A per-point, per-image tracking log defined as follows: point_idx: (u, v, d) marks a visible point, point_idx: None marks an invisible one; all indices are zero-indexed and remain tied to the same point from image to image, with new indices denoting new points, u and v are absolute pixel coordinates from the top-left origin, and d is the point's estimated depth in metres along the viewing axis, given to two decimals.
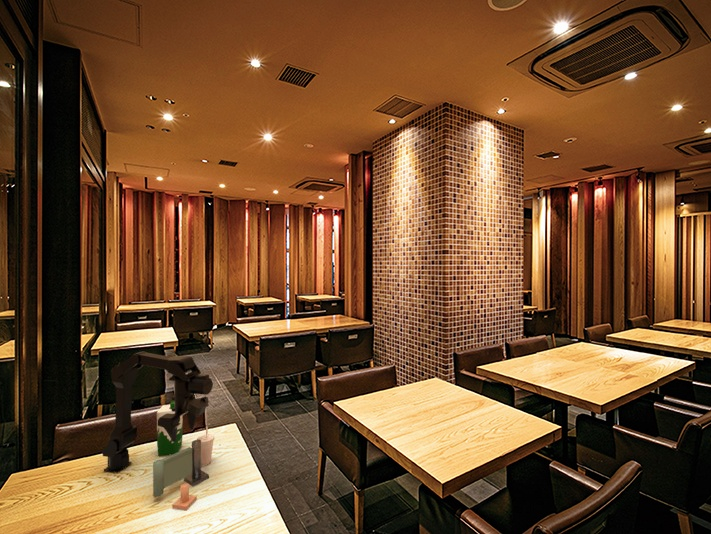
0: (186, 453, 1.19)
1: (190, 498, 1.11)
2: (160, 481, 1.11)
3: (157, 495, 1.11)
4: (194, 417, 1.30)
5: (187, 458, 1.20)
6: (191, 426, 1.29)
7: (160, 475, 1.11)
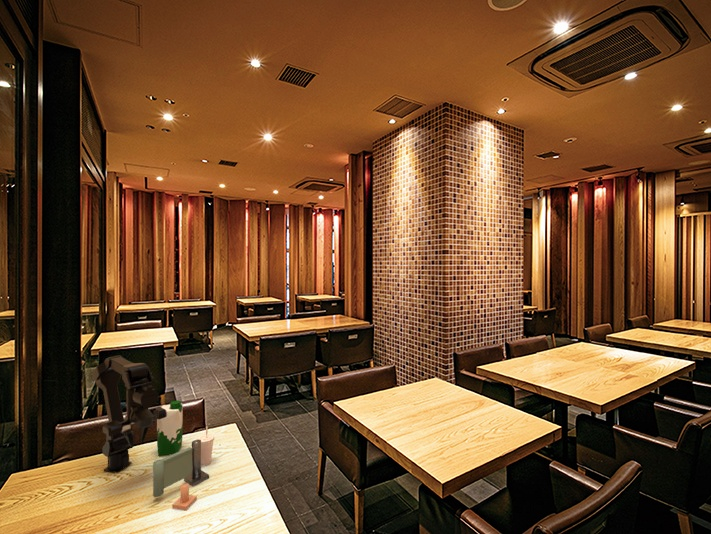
0: (186, 453, 1.19)
1: (190, 498, 1.11)
2: (160, 481, 1.11)
3: (157, 495, 1.11)
4: (143, 430, 1.23)
5: (187, 458, 1.20)
6: (141, 439, 1.23)
7: (160, 475, 1.11)
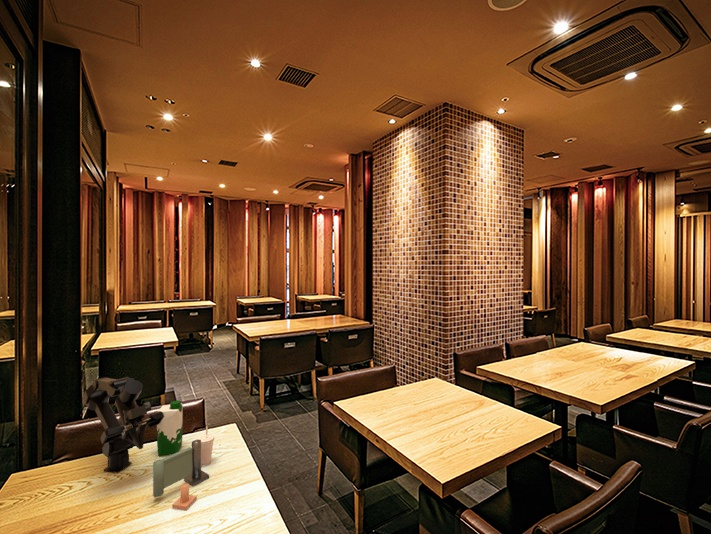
0: (186, 453, 1.19)
1: (190, 498, 1.11)
2: (160, 481, 1.11)
3: (157, 495, 1.11)
4: (139, 434, 1.21)
5: (187, 458, 1.20)
6: None
7: (160, 475, 1.11)
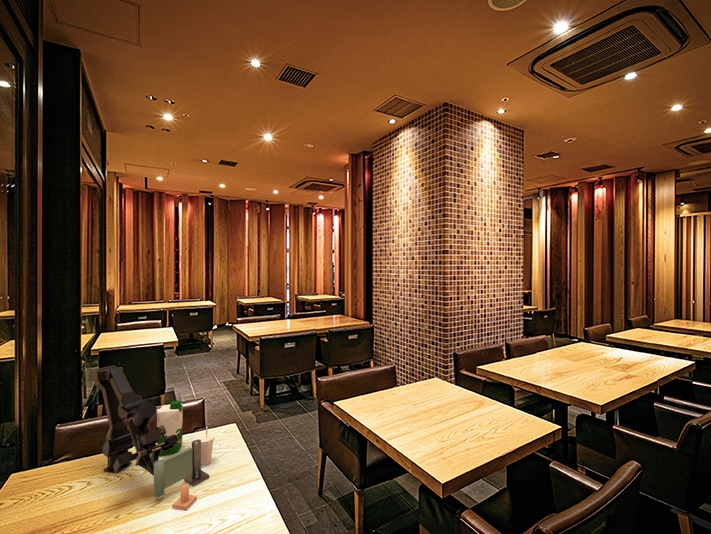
0: (186, 453, 1.19)
1: (190, 498, 1.11)
2: (160, 482, 1.11)
3: (158, 495, 1.11)
4: (154, 460, 1.15)
5: (187, 458, 1.19)
6: None
7: (161, 475, 1.11)
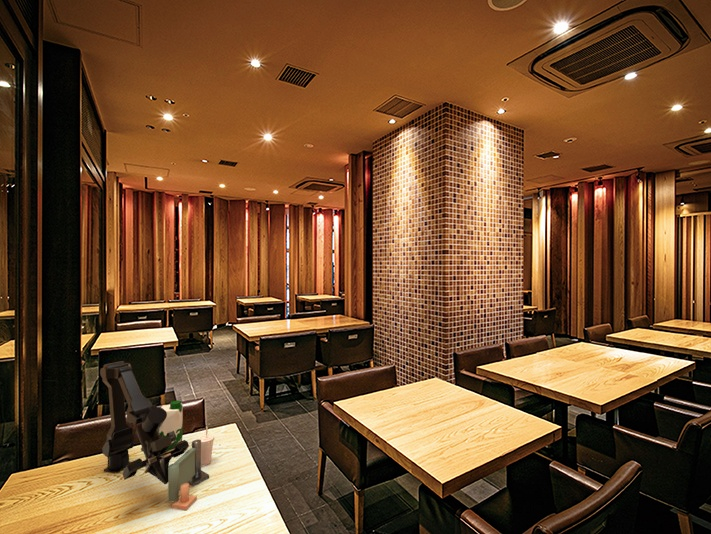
0: (192, 453, 1.19)
1: (190, 498, 1.11)
2: (177, 484, 1.10)
3: (175, 499, 1.09)
4: (164, 467, 1.11)
5: (192, 459, 1.19)
6: None
7: (177, 478, 1.10)
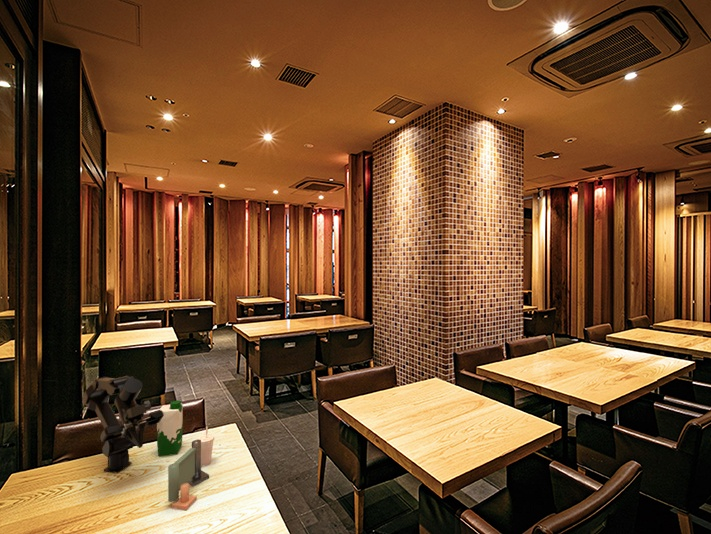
0: (192, 453, 1.19)
1: (190, 498, 1.11)
2: (177, 484, 1.10)
3: (175, 499, 1.09)
4: (139, 433, 1.21)
5: (192, 459, 1.19)
6: None
7: (177, 478, 1.10)
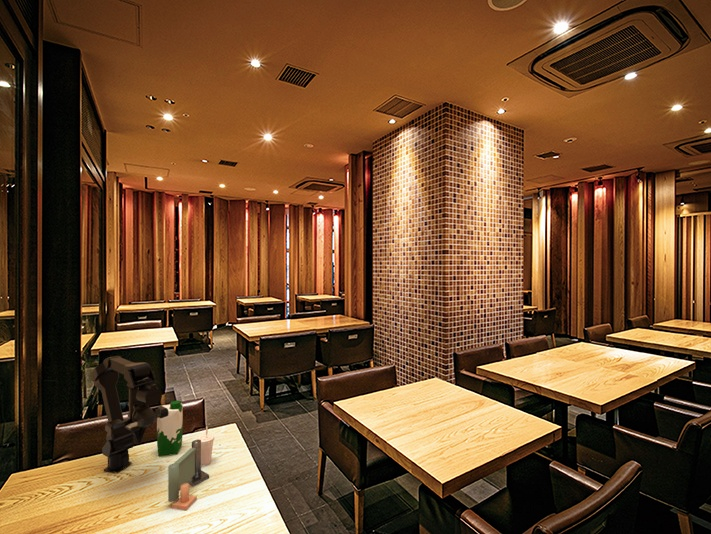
0: (192, 453, 1.19)
1: (190, 498, 1.11)
2: (177, 484, 1.10)
3: (175, 499, 1.09)
4: (141, 430, 1.23)
5: (192, 459, 1.19)
6: None
7: (177, 478, 1.10)
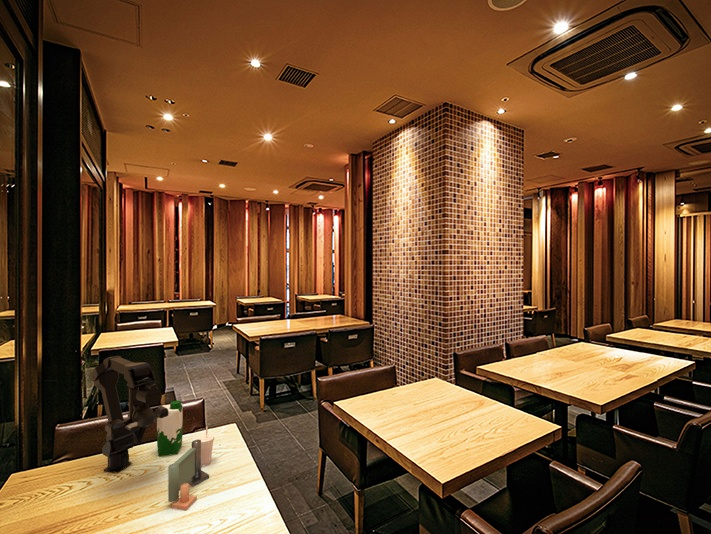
0: (192, 453, 1.19)
1: (190, 498, 1.11)
2: (177, 484, 1.10)
3: (175, 499, 1.09)
4: (141, 430, 1.23)
5: (192, 459, 1.19)
6: None
7: (177, 478, 1.10)
